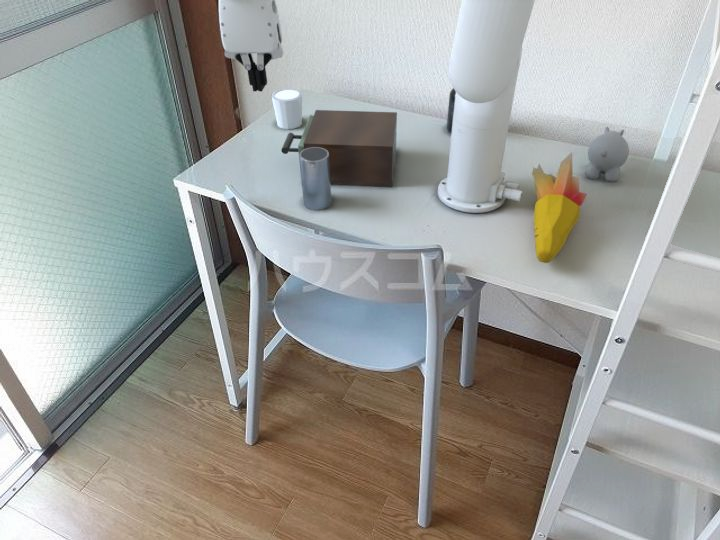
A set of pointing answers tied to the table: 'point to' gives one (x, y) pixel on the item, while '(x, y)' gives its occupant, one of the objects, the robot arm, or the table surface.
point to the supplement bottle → (451, 110)
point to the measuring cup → (315, 178)
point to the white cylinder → (288, 108)
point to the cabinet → (356, 145)
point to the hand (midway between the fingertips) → (259, 88)
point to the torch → (555, 208)
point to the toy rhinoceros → (607, 155)
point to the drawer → (291, 136)
